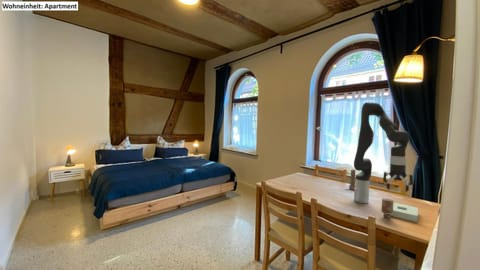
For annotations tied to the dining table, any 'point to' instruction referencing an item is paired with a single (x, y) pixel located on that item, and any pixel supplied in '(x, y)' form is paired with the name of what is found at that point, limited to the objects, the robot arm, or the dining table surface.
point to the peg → (387, 207)
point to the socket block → (405, 212)
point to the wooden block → (352, 180)
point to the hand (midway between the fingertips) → (397, 190)
